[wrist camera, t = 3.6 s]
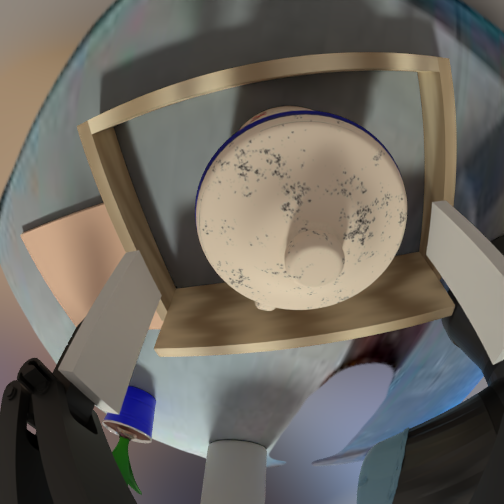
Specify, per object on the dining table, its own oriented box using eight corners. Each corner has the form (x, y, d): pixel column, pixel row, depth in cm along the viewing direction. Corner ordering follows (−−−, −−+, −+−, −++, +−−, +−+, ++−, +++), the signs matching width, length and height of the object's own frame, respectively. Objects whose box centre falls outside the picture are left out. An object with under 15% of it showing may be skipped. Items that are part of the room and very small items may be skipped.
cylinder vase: (261, 438, 45) (255, 552, 24) (270, 454, 52) (266, 547, 31) (200, 437, 47) (185, 543, 26) (218, 453, 54) (208, 542, 33)
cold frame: (426, 59, 13) (488, 59, 7) (426, 259, 22) (461, 312, 16) (99, 119, 17) (37, 140, 11) (170, 297, 26) (148, 356, 20)
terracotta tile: (115, 198, 20) (112, 201, 20) (174, 323, 28) (173, 328, 27) (23, 232, 22) (20, 235, 22) (80, 327, 30) (79, 330, 29)
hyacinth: (103, 370, 35) (50, 540, 10) (166, 394, 37) (131, 571, 12) (105, 392, 40) (63, 535, 14) (159, 412, 41) (129, 559, 16)
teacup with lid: (239, 88, 16) (195, 83, 6) (370, 126, 16) (480, 184, 7) (207, 243, 22) (167, 368, 12) (317, 267, 23) (342, 393, 13)
